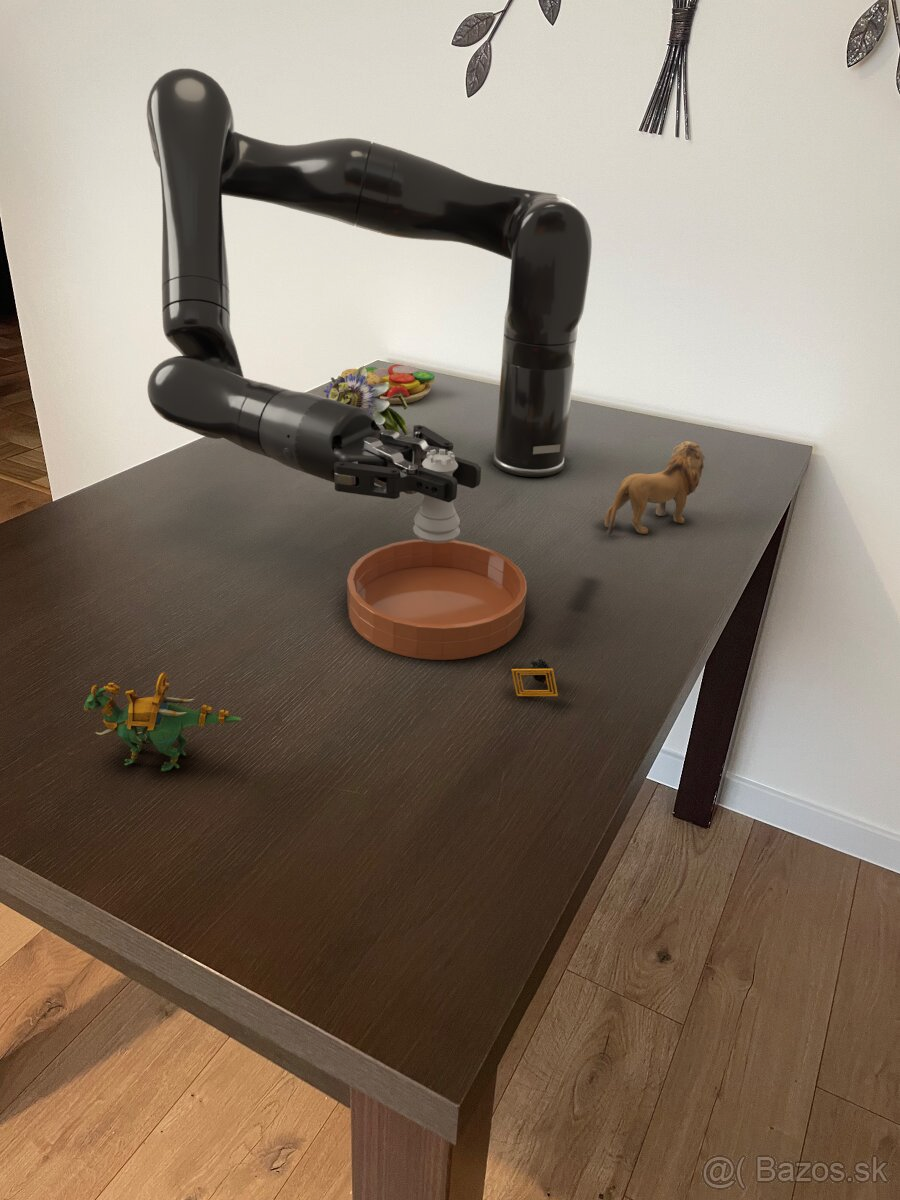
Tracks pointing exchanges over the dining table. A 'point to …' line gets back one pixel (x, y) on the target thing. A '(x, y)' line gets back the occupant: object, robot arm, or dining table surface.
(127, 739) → the figurine
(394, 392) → the toy food set
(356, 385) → the passion flower
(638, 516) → the lion figurine
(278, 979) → the dining table surface
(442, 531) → the rook chess piece
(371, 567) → the pan
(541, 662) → the golden picture frame
